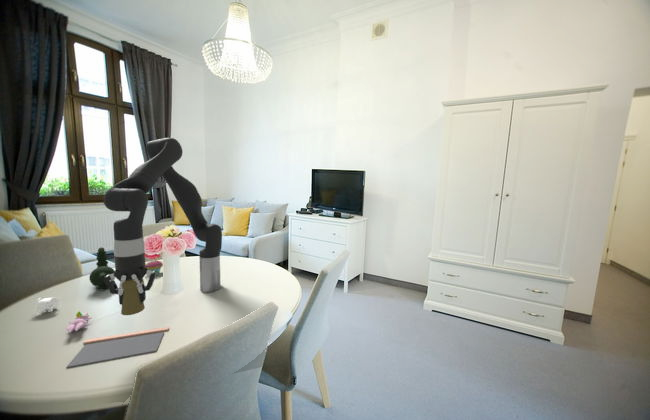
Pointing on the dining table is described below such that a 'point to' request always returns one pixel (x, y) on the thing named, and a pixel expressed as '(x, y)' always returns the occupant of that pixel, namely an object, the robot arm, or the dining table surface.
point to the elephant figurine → (47, 304)
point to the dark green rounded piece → (101, 270)
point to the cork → (131, 298)
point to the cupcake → (154, 265)
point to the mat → (116, 349)
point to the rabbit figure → (78, 322)
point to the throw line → (125, 335)
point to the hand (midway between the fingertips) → (132, 303)
